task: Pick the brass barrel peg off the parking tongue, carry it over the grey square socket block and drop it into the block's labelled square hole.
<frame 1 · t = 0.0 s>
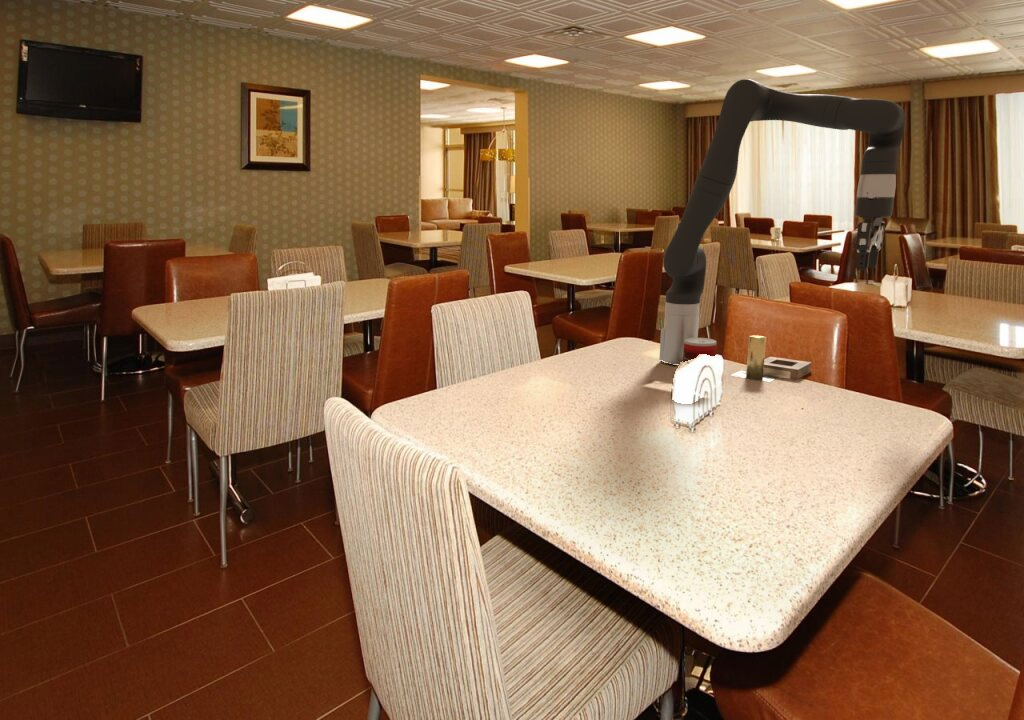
hand: (866, 268, 155), 29 cm above the table, fingers open, 8 cm apart
parking tongue: (753, 382, 169), on the table
grey square socket block: (782, 377, 173), on the table
canned food: (697, 384, 167), on the table
brass barrel: (754, 376, 169), point 1 cm above the table, touching parking tongue
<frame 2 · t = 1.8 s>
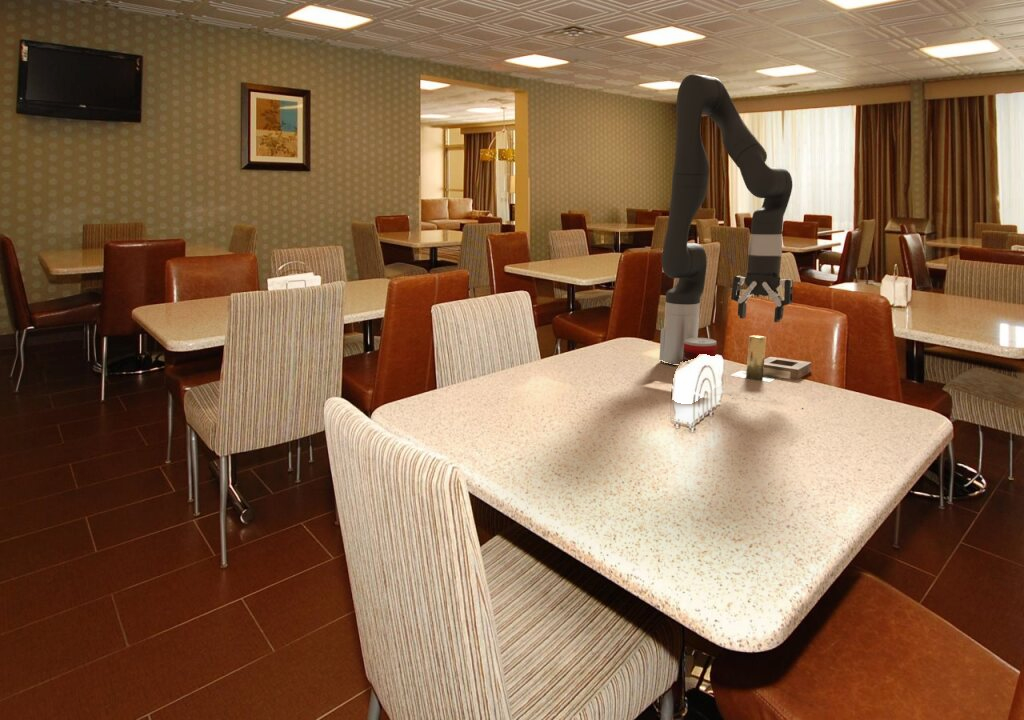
hand: (759, 319, 165), 16 cm above the table, fingers open, 8 cm apart
nothing on the table moved.
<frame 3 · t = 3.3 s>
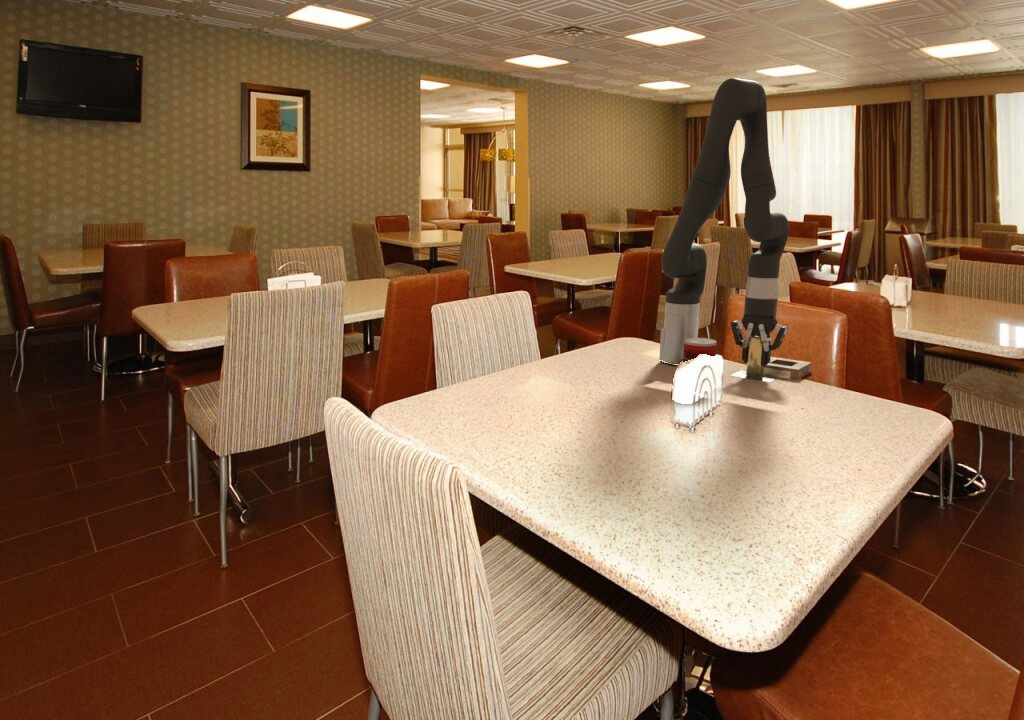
hand: (755, 363, 168), 5 cm above the table, fingers closed on brass barrel, 4 cm apart
brass barrel: (754, 376, 169), point 1 cm above the table, touching gripper, parking tongue
everything else where it was.
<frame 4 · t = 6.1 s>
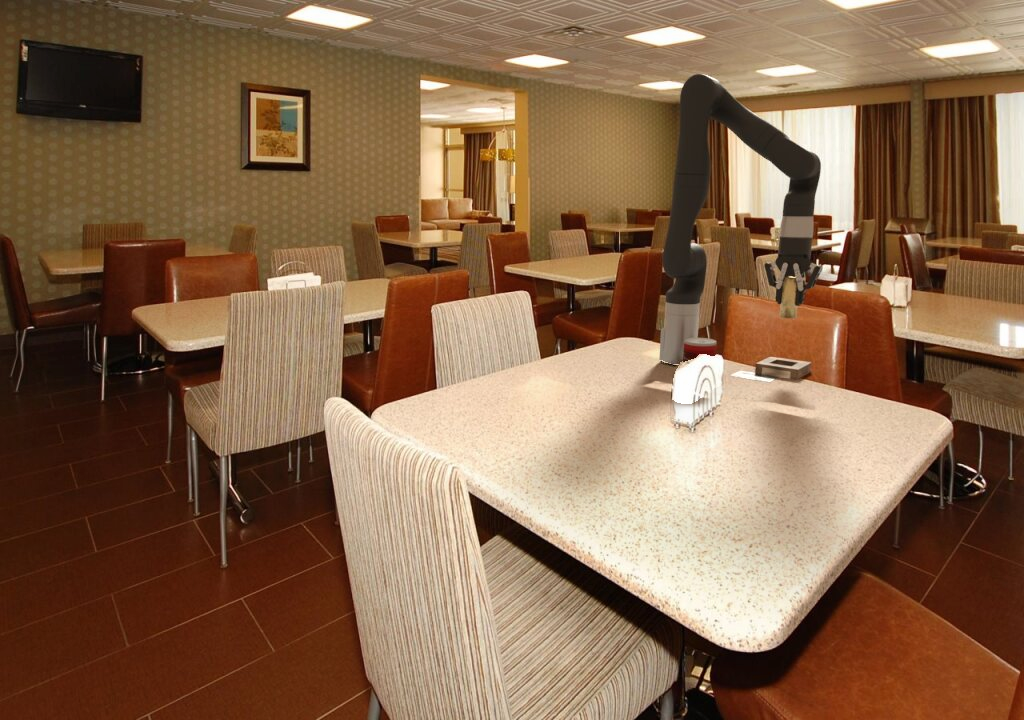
hand: (789, 304, 169), 19 cm above the table, fingers closed on brass barrel, 4 cm apart
brass barrel: (787, 317, 170), point 16 cm above the table, touching gripper
everything else where it was.
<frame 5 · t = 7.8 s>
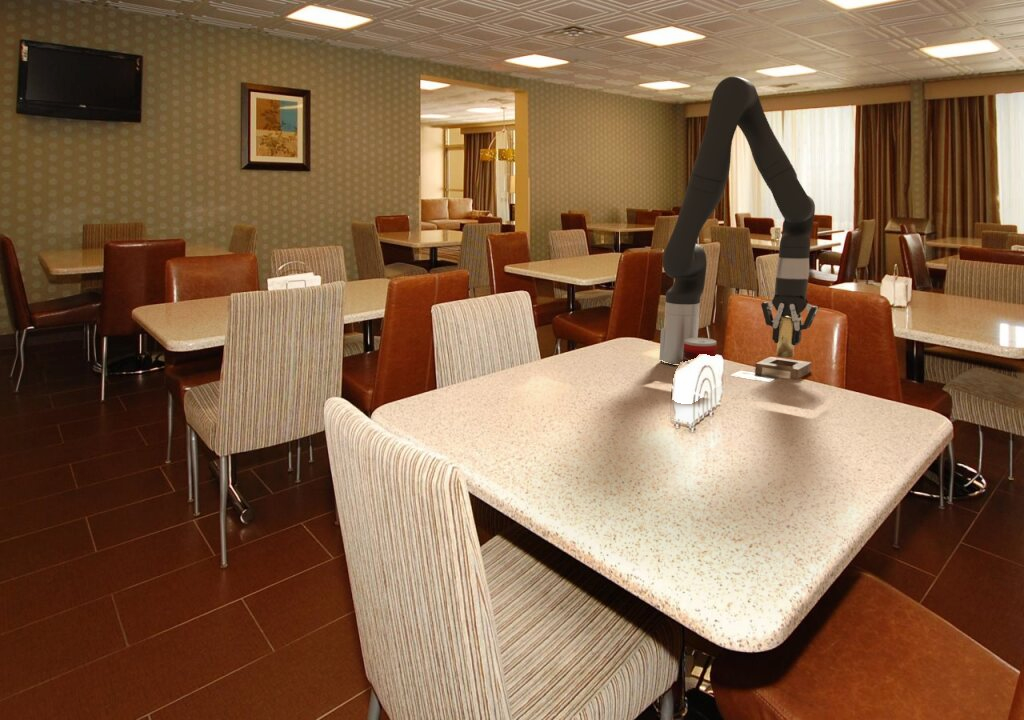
hand: (786, 343, 171), 9 cm above the table, fingers closed on brass barrel, 4 cm apart
brass barrel: (784, 355, 172), point 6 cm above the table, touching gripper
everything else where it was.
when the fingers open (5 cm above the table, at t = 9.0 s): brass barrel drops 2 cm, resting in grey square socket block.
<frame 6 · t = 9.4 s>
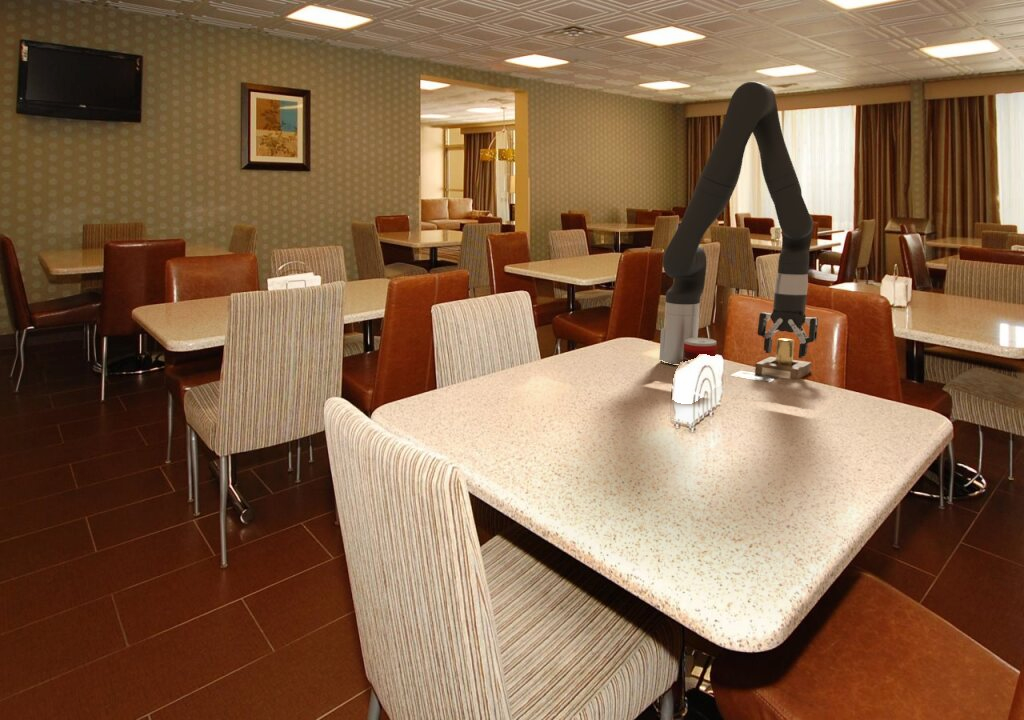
hand: (784, 355, 172), 6 cm above the table, fingers open, 8 cm apart
brass barrel: (782, 378, 173), resting in grey square socket block
everything else where it was.
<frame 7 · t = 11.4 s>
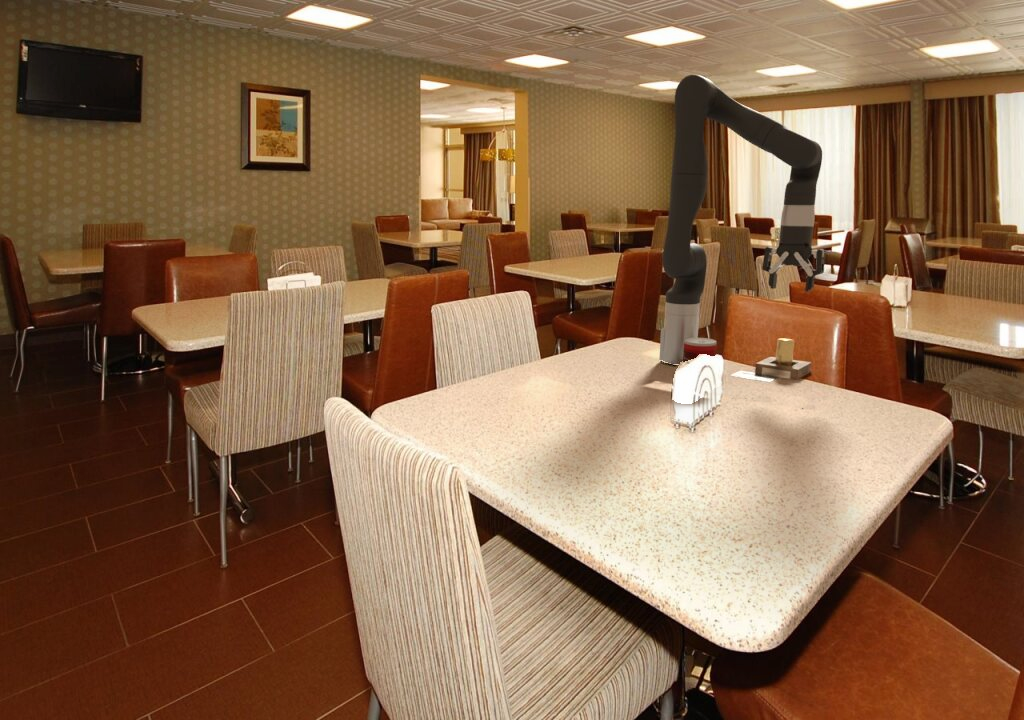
hand: (790, 289, 169), 23 cm above the table, fingers open, 8 cm apart
nothing on the table moved.
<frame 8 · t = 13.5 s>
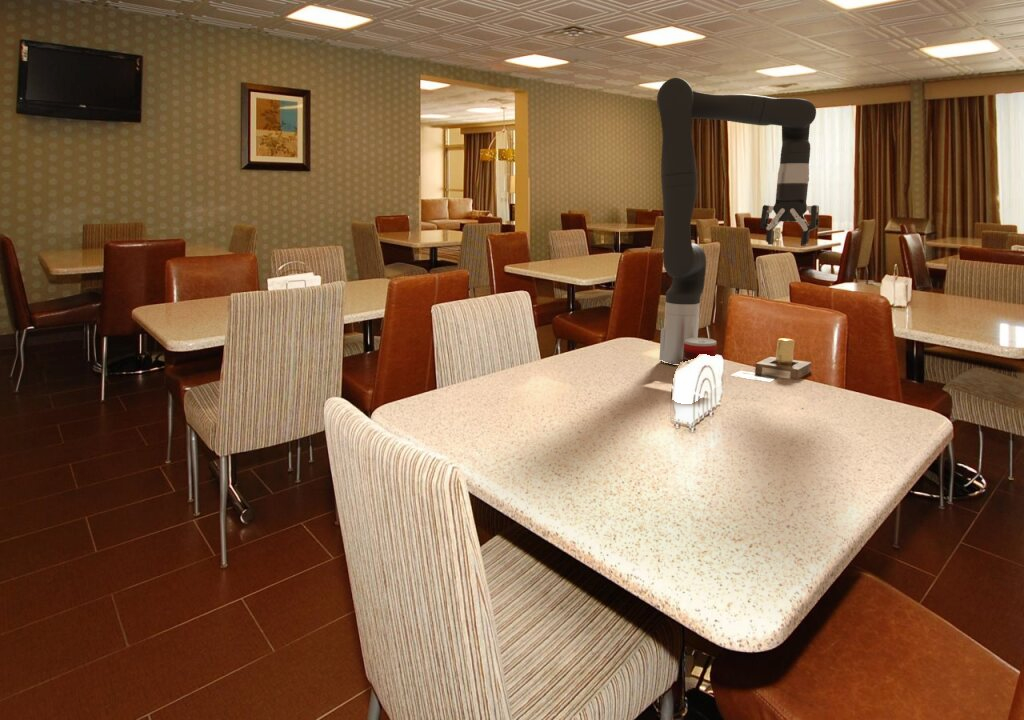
hand: (786, 245, 179), 33 cm above the table, fingers open, 8 cm apart
nothing on the table moved.
at the end: brass barrel 0.0 cm from the target spot, resting in grey square socket block; brass barrel tilted 0°; the gripper is holding nothing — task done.
